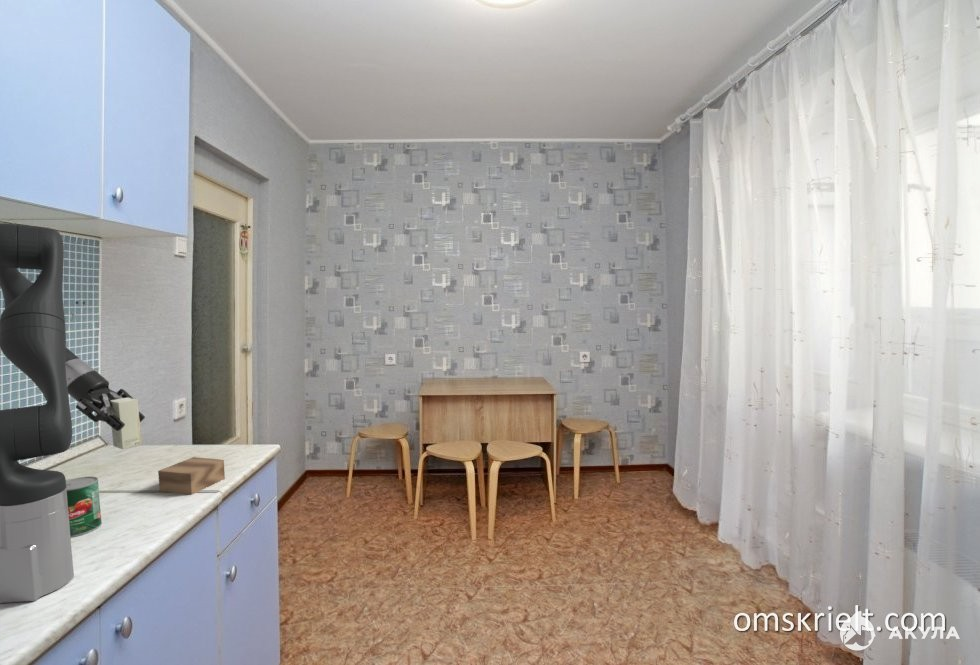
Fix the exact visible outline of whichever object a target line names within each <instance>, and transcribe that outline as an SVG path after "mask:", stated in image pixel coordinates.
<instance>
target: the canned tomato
mask: <svg viewBox="0 0 980 665" xmlns="http://www.w3.org/2000/svg"><path fill="white" fill-rule="evenodd" d="M99 486H100V485H99V477H97V476H81V477H76V478H75V477H74V478H72V479H67V480H66V489H67V501H68V514H69V525H70V537H71V538H77V537H79V536H83V535H86V534H89V533H92V532H94V531H96V530H97V529H99V528H101V527H102V524H103V522H102V514H101V511H102V510H101V501H100V488H99Z"/></svg>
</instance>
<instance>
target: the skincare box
mask: <svg viewBox="0 0 980 665" xmlns="http://www.w3.org/2000/svg"><path fill="white" fill-rule="evenodd" d="M138 400H139V399H137V398H134V397H132V398H129V397H128V398H122V399H115V400H111V401H110V403H111V405H112V406H111V408H110V410H111V412H112V415H115V416H116V417H117V418H118V419H120V420H121V421H122V422H123V423H124V424H125V426H124V427H123V428H122V429H121V430H119V431H116V430H115V429H113V428H112V427H111V434H112V435H111V437H112V444H113V447H115V448H118V449H120V450H126V449H131V448H136V447H139V446H142V445H143V444H142V443H143V442H142V441H143V440H142V432H141V422H140V420H139V412H140V411H139V401H138Z"/></svg>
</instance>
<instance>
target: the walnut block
mask: <svg viewBox="0 0 980 665" xmlns="http://www.w3.org/2000/svg"><path fill="white" fill-rule="evenodd" d="M225 472H226V471H225V459H219V458H208V457H207V458H206V457H196V456H192V457H190V458H188V459H185V460H183V461H179V462H177V463H174V464H172V465H170V466H168V467H165V468H162V469H159V470H157V474H158V484H159V486H158V487H159V492H165V493H171V494H172V493H173V494H182V495H191V496H192V495H194V494H196V493H199V492H201V491H203V490H205V489H206V487H207V488H209V487H212V486H213V485H216V484H218V483H220V482H221V480H222V481H224V480H225V479H226V477H225V476H226V475H225ZM215 483H216V484H215Z"/></svg>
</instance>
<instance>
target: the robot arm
mask: <svg viewBox="0 0 980 665" xmlns="http://www.w3.org/2000/svg"><path fill="white" fill-rule="evenodd" d="M64 248H65V246H64V240H63V237H62V235H61V233H60V232H59V231H58V230H56V229H54V228H51V227H50V228H49V227H45V226H36V225H35V226H34V225H28V224H17V223H7V222H5V223H2V222H0V288H1V292H2V295H3V300H4V302H3V303H4V310H3V311H2V312H1V315H0V350H1V352H2V353H3V355H4V356H5V357H6V358H7V360H9V361H10V363H12V364H13V365H14V366H15V367H16V368H18V369H19V370H20V371H21V372H22V373H23V374H25V375H26V376H27V377H28V378H29V379H30V380H31V381H32V382H33V383H34V384H35V385H36V387H37V388H38V389H39V390H40V392H41V394H42V395H43V396H44V399H45V400H46V403H45V404H42V405H41V404H40V405H33V406H23V407H17V408H8V409H7V408H5V409H0V604H3V603H5V604H6V603H19V602H20V603H21V602H22V603H23V602H33V601H34V602H35V601H37V600H38V599H40V598H41V597H43V596H45V595H48V594H50V593H53V592H55V591H57V590H58V589H60V588H62V587H64V586H65V585H67V584H68V583H69V582H70V581H71V580H73V578H74V575H75V574H74V560H73V550H72V541H71V538H72V537H70V525H69V514H68V501H67V489H66V479H67V478H66V476H65V474H64V473H63V472H61V471H58V470H52V469H51V470H50V469H40V468H39V469H37V468H33V467H28V466H25V465H23V464H21V463H20V462H19V461H23V460H29V459H35V458H40V457H45V456H46V457H47V456H51V455H52V456H53V455H56V454H61V453H64V452H66V451H67V450H68V449H69V448H70V446H71V444H72V439H73V423H72V413H71V406H70V405H71V404H70V399H69V396H71V397H72V398H73V399H74V400H75V401H76V402H77V405H75V409H77V410H78V411H79V412H81V413H83V415H84V416H86V417H87V418H89V419H90V421H93V422H94V423H98V422H103V423H106V424H107V425H108V426H109V427H111V429H112V428H113V429H115V430H116V431H119V430H121V429H122V428H123V427H124V426H125V424H124V423H123V422H122V421H121V420H120V419H118V418H117V417H116V416H115V415H112V412H111V410H110V408H111V406H112V405H111V403H110V401H111V400H115V399H122V398H128V397H129V398H133V396H132V395H131V394H129V393H128V392H127V391H126V390H125V389H123V388H120V389H119V390H117V391H114V390H112V389H110V387H109V385H110V382H109V380H107V379H106V378H105V377H104V376H103V375H101V374H100V373H99V372H98V371H97V370H96V369H94V368H93V367H92V366H91V365H89V364H88V363H86V362H85V361H84V360H82V359H81V358H79V357H78V356H77V355H76V353H74V352H72V350H70V349H69V348H68V347H67V345H66V344H67V332H66V331H67V330H66V320H65V308H64V307H65V306H64V297H63V280H64V278H63V277H64V263H65V262H64V258H65V256H64V255H65V249H64ZM18 269H23V270H38V271H39V270H40V273H39V275H38V277H37V278H36V279H35V280H34V282H33V281H31V280H30V279H29V278H27V277H26V276H25V275H23V274H22V272H20V270H18ZM93 413H95V415H94V414H93ZM145 418H146V417H145V415H144V414H143V413H141V412H140V411H139V420H140V423H142V421H144V420H145Z"/></svg>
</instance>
